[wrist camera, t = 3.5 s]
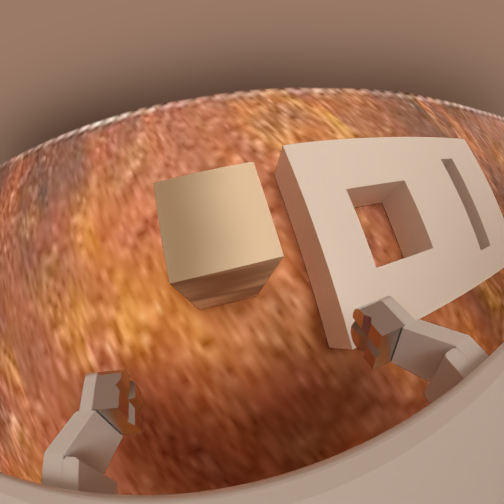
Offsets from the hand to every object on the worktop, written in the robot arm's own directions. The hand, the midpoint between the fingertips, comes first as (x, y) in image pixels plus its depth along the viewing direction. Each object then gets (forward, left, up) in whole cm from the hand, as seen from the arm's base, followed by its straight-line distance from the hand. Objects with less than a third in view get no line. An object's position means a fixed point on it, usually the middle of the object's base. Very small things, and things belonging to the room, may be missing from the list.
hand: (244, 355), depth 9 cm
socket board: (-17, -5, -10) cm, 20 cm away
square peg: (0, -5, -10) cm, 11 cm away
